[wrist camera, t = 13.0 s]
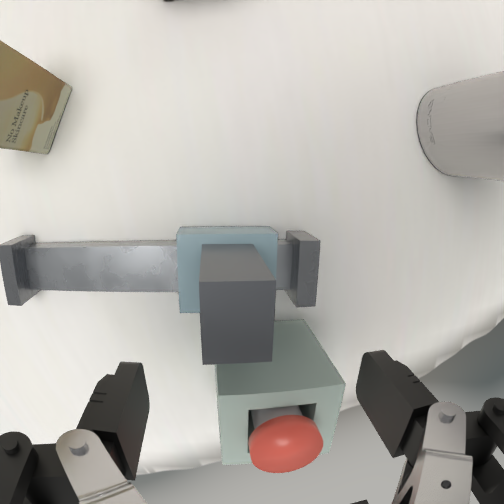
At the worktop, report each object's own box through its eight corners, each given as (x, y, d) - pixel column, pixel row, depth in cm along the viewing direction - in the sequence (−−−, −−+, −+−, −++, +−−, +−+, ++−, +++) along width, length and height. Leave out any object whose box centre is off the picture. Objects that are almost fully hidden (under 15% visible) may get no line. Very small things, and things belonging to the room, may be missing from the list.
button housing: (303, 319, 28) (345, 383, 19) (297, 383, 30) (328, 454, 20) (213, 323, 27) (218, 395, 18) (216, 388, 29) (222, 466, 19)
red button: (289, 342, 26) (328, 422, 17) (285, 385, 28) (317, 467, 18) (235, 345, 26) (251, 431, 16) (235, 388, 27) (250, 476, 17)
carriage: (269, 226, 26) (313, 264, 15) (267, 295, 27) (303, 369, 16) (180, 227, 25) (159, 266, 14) (183, 297, 26) (169, 375, 15)
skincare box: (49, 155, 22) (-45, 150, 10) (14, 145, 21) (-81, 139, 9) (75, 83, 21) (-3, 34, 9) (38, 76, 20) (-45, 35, 8)
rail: (304, 230, 26) (320, 240, 22) (300, 288, 28) (315, 306, 24) (21, 235, 23) (-2, 245, 19) (29, 288, 24) (8, 304, 20)
